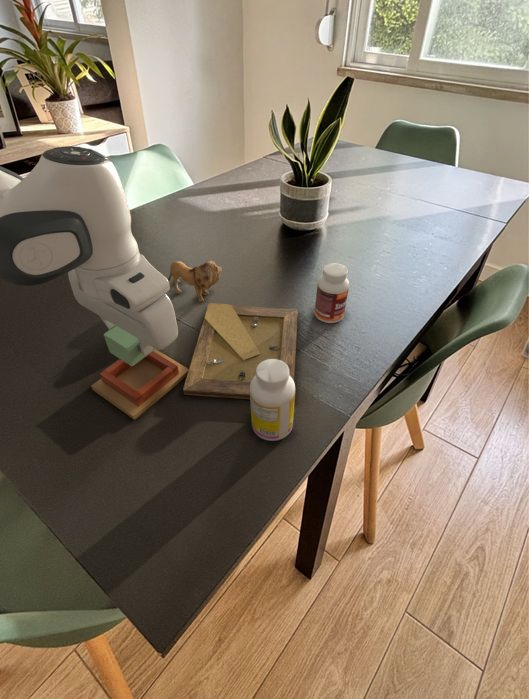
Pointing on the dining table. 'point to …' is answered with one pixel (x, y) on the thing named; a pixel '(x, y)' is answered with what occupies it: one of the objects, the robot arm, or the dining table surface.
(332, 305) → the pill bottle
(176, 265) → the lion figurine
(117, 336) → the green block
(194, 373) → the picture frame
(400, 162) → the dining table surface
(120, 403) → the wooden framed tray
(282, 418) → the supplement bottle
